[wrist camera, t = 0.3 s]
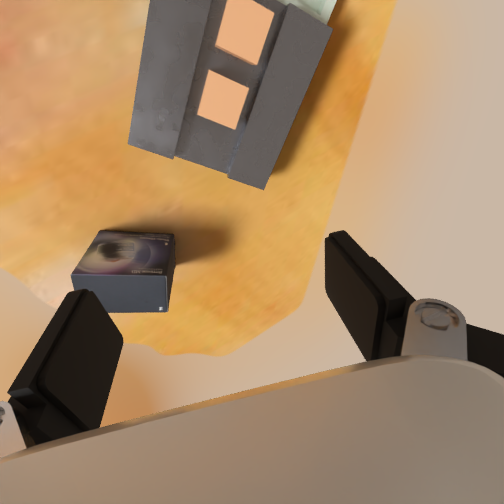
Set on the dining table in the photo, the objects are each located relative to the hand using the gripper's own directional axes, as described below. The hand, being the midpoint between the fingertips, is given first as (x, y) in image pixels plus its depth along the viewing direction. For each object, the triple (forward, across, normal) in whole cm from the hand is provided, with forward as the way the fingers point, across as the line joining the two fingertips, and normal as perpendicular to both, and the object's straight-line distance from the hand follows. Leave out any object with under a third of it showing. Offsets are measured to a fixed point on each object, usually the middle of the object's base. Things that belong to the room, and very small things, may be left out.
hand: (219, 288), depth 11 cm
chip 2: (+25, -3, -5) cm, 25 cm away
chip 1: (+25, -6, -10) cm, 27 cm away
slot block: (+28, -4, -6) cm, 29 cm away
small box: (+29, +13, +13) cm, 34 cm away
